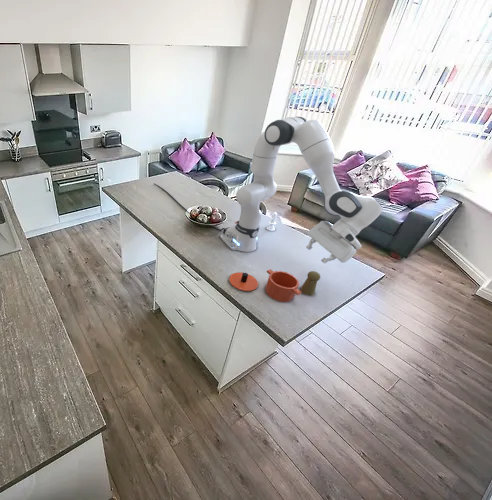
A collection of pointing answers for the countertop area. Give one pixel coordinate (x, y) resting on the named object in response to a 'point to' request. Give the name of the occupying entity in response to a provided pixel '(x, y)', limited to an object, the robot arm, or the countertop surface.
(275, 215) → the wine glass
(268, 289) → the pot
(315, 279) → the cork
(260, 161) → the robot arm
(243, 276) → the pot lid
